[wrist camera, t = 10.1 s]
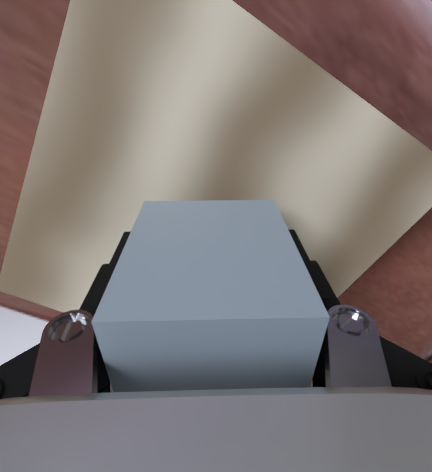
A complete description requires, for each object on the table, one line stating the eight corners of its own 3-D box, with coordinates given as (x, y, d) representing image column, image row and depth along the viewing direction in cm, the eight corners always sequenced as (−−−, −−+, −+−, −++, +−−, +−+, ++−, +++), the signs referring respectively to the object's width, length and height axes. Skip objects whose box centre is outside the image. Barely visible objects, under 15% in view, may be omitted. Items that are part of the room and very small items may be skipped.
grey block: (274, 199, 11) (329, 317, 6) (263, 296, 14) (295, 434, 9) (144, 201, 11) (91, 322, 6) (157, 298, 14) (128, 440, 9)
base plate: (408, 150, 16) (464, 175, 12) (247, 329, 23) (254, 377, 19) (129, -54, 11) (96, -102, 8) (35, 246, 18) (-4, 289, 15)
